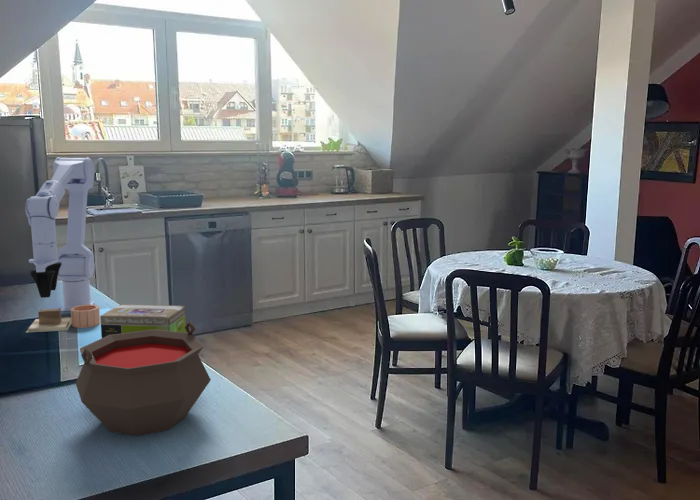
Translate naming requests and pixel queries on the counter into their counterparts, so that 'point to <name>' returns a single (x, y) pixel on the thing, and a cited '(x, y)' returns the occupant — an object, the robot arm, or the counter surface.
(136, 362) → the brown cauldron
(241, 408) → the counter surface
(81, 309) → the cup
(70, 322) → the mat
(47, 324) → the lid
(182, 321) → the tea box
